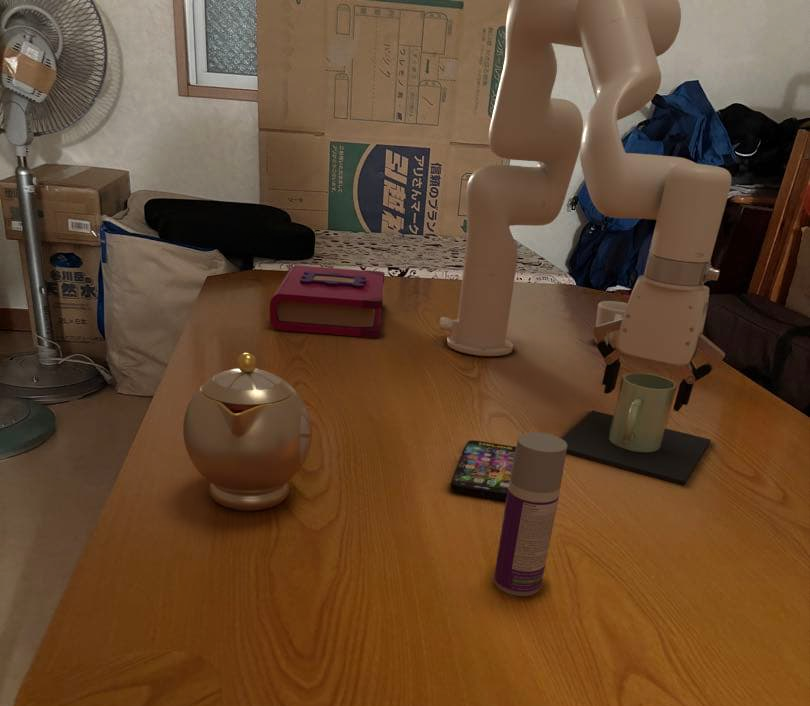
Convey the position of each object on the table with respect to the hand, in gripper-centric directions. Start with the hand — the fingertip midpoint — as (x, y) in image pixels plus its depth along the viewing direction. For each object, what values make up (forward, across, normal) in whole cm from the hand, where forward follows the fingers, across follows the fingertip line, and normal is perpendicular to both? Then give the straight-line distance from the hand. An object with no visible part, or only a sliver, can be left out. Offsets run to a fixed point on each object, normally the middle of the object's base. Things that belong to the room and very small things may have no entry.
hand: (642, 399), depth 107 cm
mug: (+6, 0, +2) cm, 6 cm away
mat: (+7, 0, 0) cm, 7 cm away
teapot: (+7, +33, +44) cm, 55 cm away
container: (+7, 0, +44) cm, 45 cm away
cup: (+8, +18, -50) cm, 53 cm away
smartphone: (+7, +13, +22) cm, 27 cm away
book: (+8, +71, -28) cm, 76 cm away
